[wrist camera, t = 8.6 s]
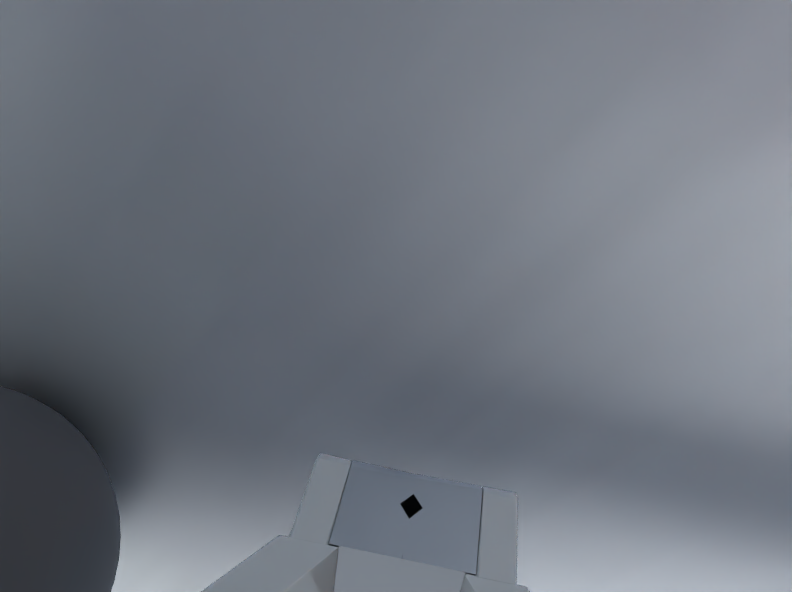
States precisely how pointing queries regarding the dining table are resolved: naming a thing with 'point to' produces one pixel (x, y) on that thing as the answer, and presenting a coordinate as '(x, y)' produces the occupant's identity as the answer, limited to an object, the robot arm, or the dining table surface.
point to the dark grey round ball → (53, 504)
